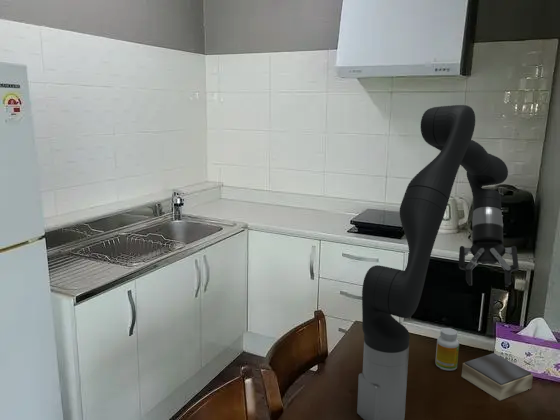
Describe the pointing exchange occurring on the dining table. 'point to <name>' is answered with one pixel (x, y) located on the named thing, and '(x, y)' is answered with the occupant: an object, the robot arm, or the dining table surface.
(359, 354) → the dining table surface
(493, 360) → the plinth
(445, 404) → the dining table surface
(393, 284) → the robot arm
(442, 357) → the supplement bottle
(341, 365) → the dining table surface
